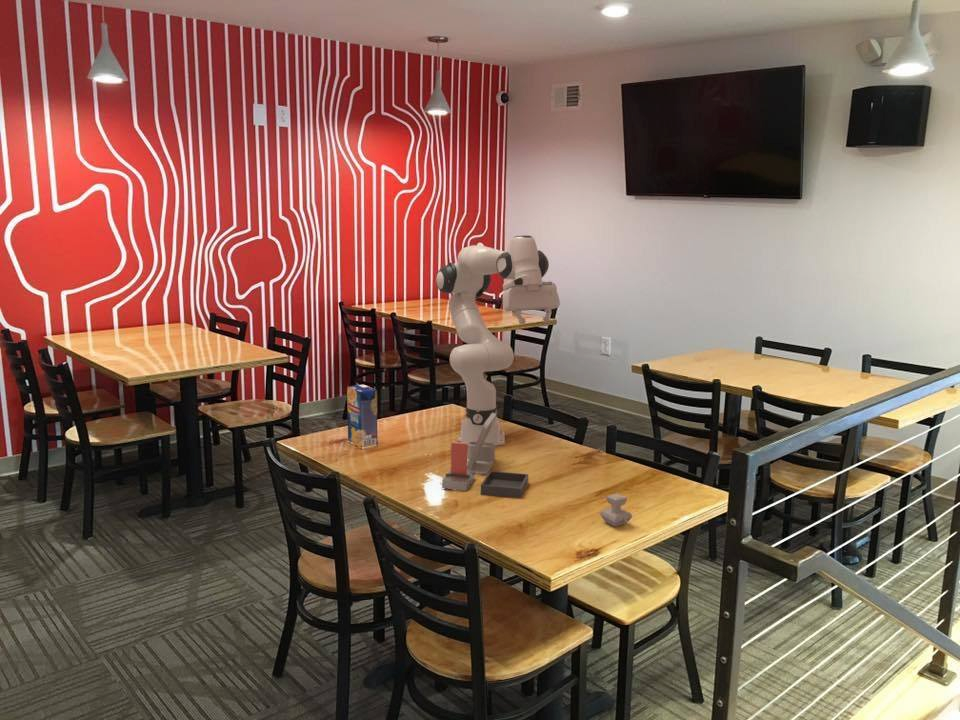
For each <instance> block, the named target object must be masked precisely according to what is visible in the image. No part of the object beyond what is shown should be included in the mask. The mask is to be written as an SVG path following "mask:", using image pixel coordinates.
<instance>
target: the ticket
mask: <svg viewBox="0 0 960 720" xmlns="http://www.w3.org/2000/svg"><path fill="white" fill-rule="evenodd" d="M450 445H451V446H450V448H451V450H450V452H451V453H450V454H451V455H450V467H451V468H450V470H451V474H458V475H467V458H468V446H467V443H462V442H459V441H452V442H451V443H450Z"/></svg>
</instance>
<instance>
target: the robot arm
mask: <svg viewBox="0 0 960 720" xmlns="http://www.w3.org/2000/svg"><path fill="white" fill-rule="evenodd" d="M537 246H538V245H537V243H536V239H535V238H534V236H532V235H524V234H523V235H516V236H515V235H514V236H513V237H511V238H510V244H509V246H508V248H507V249H505V250H500V249H495V248H493V247H490V246H489V247H488V246H485V245H477V244H475V245H469V246H466V247H464V248H462V249H461V250H460V251H459V252H458V254H457V261H456V262H455V263H452V262H450V261H449V262H448V263H447V264H446V265H444V266H441V267H440V269H439V270H438V271H437V273H436V276H435V281H436V282H435V283H436V286H437V289H438V291H440V293H443V294H452V295H451V296H450V297H449V301H448V307H449V312H450V317H451V319H452V322H453V325H454V328H455V331H456V333H457V336H458V338H459V339H460V340H461V341H463V343H465V344H461V345H459V346H456V347H454V348H452V350H451V352H450V354H449V364H450V367H451V368H452V370H453V371H455V372H456V373H457V374H458V375H459V376H460V377H461V379H462V380H463V382H464V384H465V389H466V406H465V411H464V412H465V418H463V419H462V421H461V426H460V427H461V429H460V430H461V432H460V435H459V436H458V437H457V439H456V442H461V443H467V447H468V443H469V442H477V440H478V438H479V435H480V433H481V430H482V428H483V425H484V423H485V422H486V420H487V419H488V418H489V416H490V415H491V414H492V413H494V414H496V418H495V420H494V422H493V425H492V427H491V429H490V431H489V433H488V435H487V437H486V439H485V441H484V442H486V443H493V444H495V447H496V446H497V447H498V446H504V445H505V444H506V439H505V438H506V436H505V435H506V434H505V431H503V430H500V420H499V418H498V409H497V390H496V387H495V385H494V384H493V383H492V382H490V381H488V380H487V379H485V378H484V373H487V372H496V371H497V372H498V371H502V370H505V369H507V368H510V367H511V366H512V364H513V362H514V358H515V355H514V351H513V348H512V346H510V344H508V343H506V342H504V341H502V340H501V339H499V338H498V337H496V336H495V335H494V334H493V333H492V332H491V331H490V330H489V328H488V327H487V325H486V323H485V321H484V319H483V317H482V314H481V312H480V309H479V308H478V305H477V303H476V297H477V298H480V297H482V296H483V293H485V292H486V291H487V290H488V288H489V287H490V285H491V281H492V275H495V274H498V275H499V276H500V277H501V278H502V279H504V280H509V281H507V282H504V283H503V284H502V289H503V293H502V305H503V310H505V311H506V312H514V315H515V317H516V318H517V319H518V323H519V325H524V324H526V317H523V316H522V314H521V313H522V311H539V310H540V311H541V310H544V313H545V316H543V317H542V320H543V323H550V322H551V321H550V320H551V319H550V316H551V314H552V310H555V309H557V308H559V307H560V305H561V301H560V298H559V294H558V290H557V289H558V288H557V285H556V284H555V282H553V281H543V277H544V276H545V275H547V272H548V270H549V266H550V265H549V264H550V263H549V259H548V258H547V255H546V254H545V253H544V252H543V251H542V250H538V247H537Z"/></svg>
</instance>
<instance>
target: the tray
mask: <svg viewBox="0 0 960 720" xmlns="http://www.w3.org/2000/svg"><path fill="white" fill-rule="evenodd" d="M528 485H529V473H519V472H507V471H496V470H489V472H488V473H487V475H485V477H484V478H483V481H482V482H481V484H480V495H484V496H494V497H503V498H505V497H506V498H514V499H515V498H516V499H522V497H523V495H524V493H525V490H526V489H527V487H528Z"/></svg>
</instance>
